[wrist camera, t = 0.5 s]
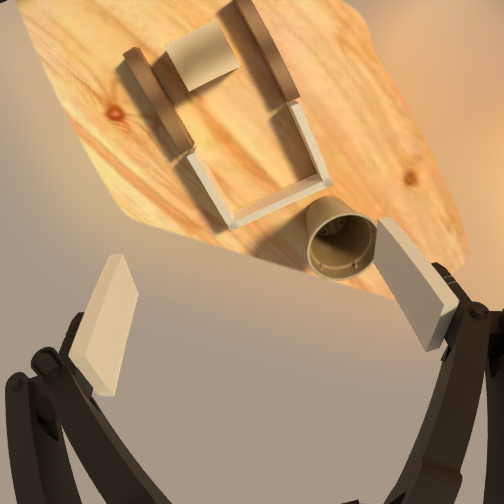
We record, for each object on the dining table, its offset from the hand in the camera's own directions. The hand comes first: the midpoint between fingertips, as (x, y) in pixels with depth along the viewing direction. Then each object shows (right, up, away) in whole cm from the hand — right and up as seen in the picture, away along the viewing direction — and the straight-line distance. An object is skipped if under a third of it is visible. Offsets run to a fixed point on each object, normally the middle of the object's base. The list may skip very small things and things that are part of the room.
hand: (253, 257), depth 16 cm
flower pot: (+10, +5, +28) cm, 30 cm away
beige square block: (-6, +23, +16) cm, 28 cm away
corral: (+1, +11, +23) cm, 26 cm away
